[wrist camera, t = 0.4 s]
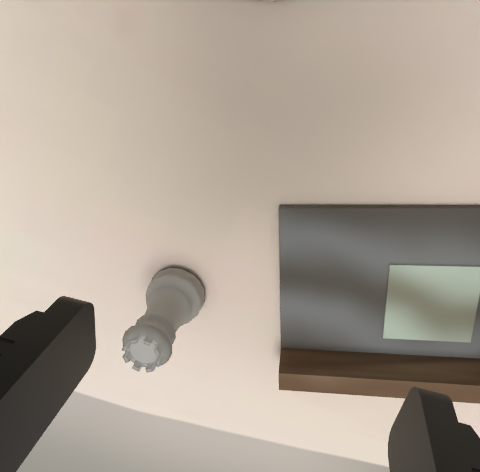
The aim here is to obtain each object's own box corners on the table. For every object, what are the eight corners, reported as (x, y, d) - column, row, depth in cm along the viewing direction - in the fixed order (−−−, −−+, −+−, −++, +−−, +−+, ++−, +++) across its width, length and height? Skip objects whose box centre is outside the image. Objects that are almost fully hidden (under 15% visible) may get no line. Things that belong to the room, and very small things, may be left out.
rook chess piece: (217, 287, 32) (190, 353, 25) (187, 324, 34) (153, 396, 26) (169, 254, 32) (128, 311, 24) (141, 293, 33) (94, 357, 26)
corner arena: (279, 205, 29) (275, 223, 26) (533, 205, 26) (564, 224, 23) (281, 358, 34) (279, 389, 30) (496, 370, 31) (517, 406, 28)
